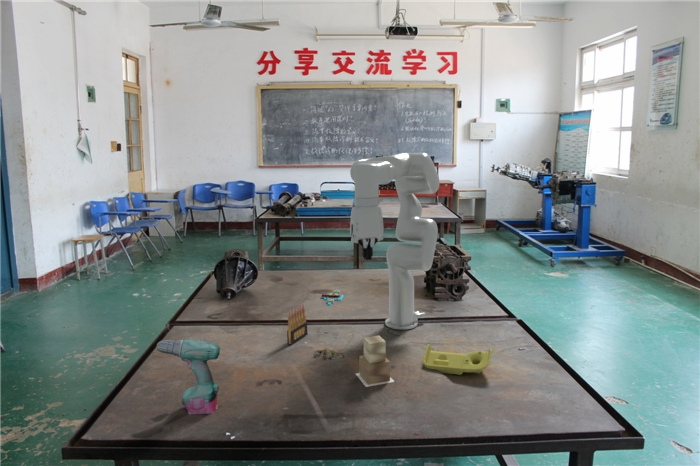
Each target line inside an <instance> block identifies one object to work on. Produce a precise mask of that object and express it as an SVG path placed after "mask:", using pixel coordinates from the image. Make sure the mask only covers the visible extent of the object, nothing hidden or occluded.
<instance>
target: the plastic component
mask: <svg viewBox="0 0 700 466" xmlns="http://www.w3.org/2000/svg"><path fill="white" fill-rule="evenodd" d="M492 353H493V349H492V348H490V349H489V348H488V350H487V351H486V352H485V351H480V350H479V351H470V352H467V353H458V352H457V353H456V352H447V351H435V350H433V348H432V345H431V344H429V343H428V344H427V345H426V348H425V352H424V356H423V359H422V362H423V365H424V367H425V368H427V369H429V370H434V371H435V370H437V371H439V372H440V373H441V374H449V375H451V374H452V375H460V376H461V375H463V373H474V374H477V375H478V374H479V375H480V373H482V372H483V370H485V369H486V368H487V367H488V366H489V365H490V363H491V359H492Z"/></svg>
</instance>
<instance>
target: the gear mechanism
mask: <svg viewBox="0 0 700 466" xmlns="http://www.w3.org/2000/svg"><path fill="white" fill-rule="evenodd" d="M344 296H345V295H344V294H341V290H339V289H338V288H337V287H336V288H335V290H333V293H328V294H327V293H326V294H323V293H322V294H321V298H322V297H324V298H323V301H326V304H327V306H331V305H332V304H334V303H335V301H338V302H339V301H342V300H343V298H344Z"/></svg>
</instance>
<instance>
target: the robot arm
mask: <svg viewBox="0 0 700 466" xmlns="http://www.w3.org/2000/svg"><path fill="white" fill-rule="evenodd" d="M349 174H350V178H351V180H352V181H353V182H354V206H352V208H351V213H350V224H349V234H350V236H351V237H350V238H351V239H350V241H351V243H353V244H359V245H360V247H361V249H362V250H361V251H362V252H361V253H362V256H361V257H363V259H364V260H366V261H371V260H372V259H373V258H372V257H373V254H374V251H373V249H374V247H375V245H376V244H377V243H378V242H380V241H383V240H384V232H385V231H384V228H385V227H384V219H383V212H382V207H381V205H380V203H383V197H380V196H379V195H380V194H379V191H380V190H379V188H380V186H379V185H388V184H390V183H391V182H393V181H394V186H395V189H396V192H397V193H396V194H397V196H398V200H399V212H398V216H397V217H398V218H397V223H396V226H395V227H396V228H395V237H396V239H397V240H398V241H400V242H403V243H393V244H391V245H390V246H388V248H386V249H387V250H386V254H385V255H386V263H387V270H388V318H385V320H384V323H385V326H386V327H388V328H390V329H393V330H399V331H402V330H411V329H415V328H416V327H418V326H419V321H418V319H425V318H426V317H427V315H426V312H420V311H415V278H414V276H413V274H412V273H411V271H418V272H419V271H420V272H427V271H429V270H430V269H431V268H432V267H433V266H432V265H433V262H434V257H435V252H436V246H437V239H438V231H439V228H438V225H437V222H436V221H435V220H434V219H431V218H425V217H424V218H423V217H421V216H422V212H423V206H422V203H421V202H420V200H419V198H417V197H416V195H415V194H419V195H432V194H436V193H437V191H438V190H439V188H440V177H439V175H438V172H437V169H436V166H435V164H434V161H433V159H432V157H431V156H430V155H429V154H428V153H426V152H399V153H397V154H396V153H395V154H392V155H386V156H384V155H383V156H379V157H378V156H377V157H371V158H362V159H358V160H356V161H355V162H353V163H352V165H351V167H350V171H349ZM412 243H413V244H412Z"/></svg>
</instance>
